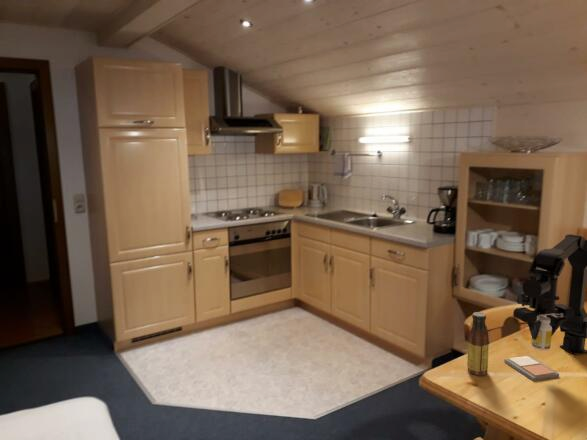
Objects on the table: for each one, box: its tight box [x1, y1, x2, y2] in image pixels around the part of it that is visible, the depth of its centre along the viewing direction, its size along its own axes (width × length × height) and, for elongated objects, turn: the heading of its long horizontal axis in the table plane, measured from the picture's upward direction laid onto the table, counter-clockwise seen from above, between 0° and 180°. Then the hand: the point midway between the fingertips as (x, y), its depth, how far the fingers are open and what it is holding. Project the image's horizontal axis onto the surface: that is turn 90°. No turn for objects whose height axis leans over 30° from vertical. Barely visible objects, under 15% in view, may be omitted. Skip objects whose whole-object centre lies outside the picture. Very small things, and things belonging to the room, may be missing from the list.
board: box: [503, 355, 560, 382], centre depth 154 cm, size 10×13×1 cm
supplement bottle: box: [531, 316, 553, 351], centre depth 149 cm, size 5×5×10 cm
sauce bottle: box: [466, 311, 490, 377], centre depth 151 cm, size 7×6×20 cm
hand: (541, 338), depth 149 cm, fingers closed on supplement bottle, 5 cm apart
